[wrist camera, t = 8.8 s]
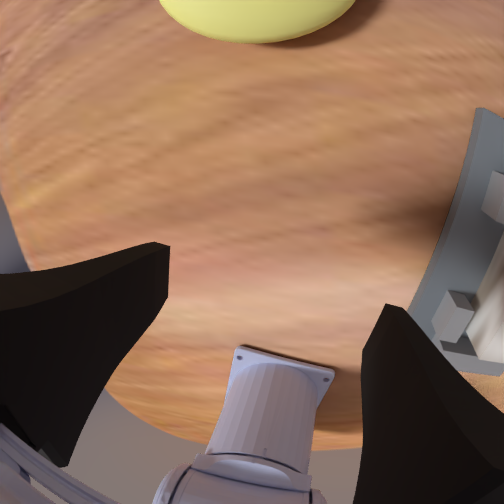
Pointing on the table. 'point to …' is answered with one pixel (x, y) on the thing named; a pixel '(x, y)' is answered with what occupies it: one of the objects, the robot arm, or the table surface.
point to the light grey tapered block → (489, 311)
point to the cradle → (465, 249)
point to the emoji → (255, 18)
